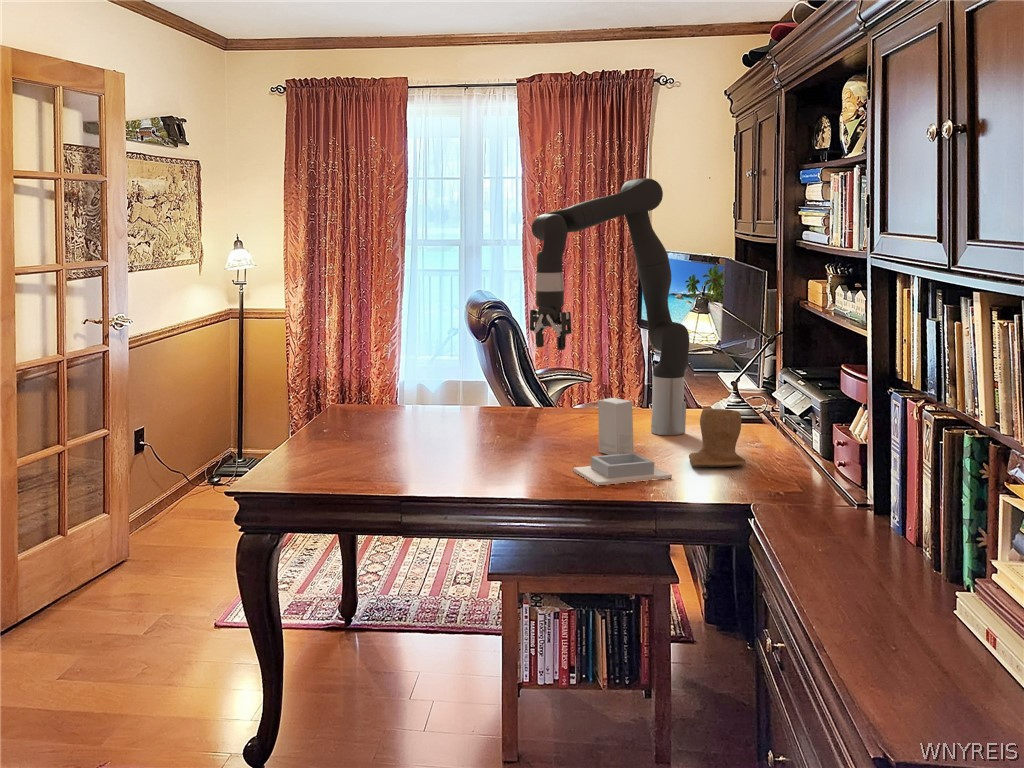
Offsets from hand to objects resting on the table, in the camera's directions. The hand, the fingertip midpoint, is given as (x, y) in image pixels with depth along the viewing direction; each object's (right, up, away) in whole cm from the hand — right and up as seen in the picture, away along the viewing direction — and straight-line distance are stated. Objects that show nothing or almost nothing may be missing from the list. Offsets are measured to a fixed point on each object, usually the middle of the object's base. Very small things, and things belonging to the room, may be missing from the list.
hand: (550, 348), depth 245 cm
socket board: (+17, -32, -24) cm, 44 cm away
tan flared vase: (+42, -31, -14) cm, 54 cm away
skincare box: (+17, -29, -3) cm, 34 cm away
